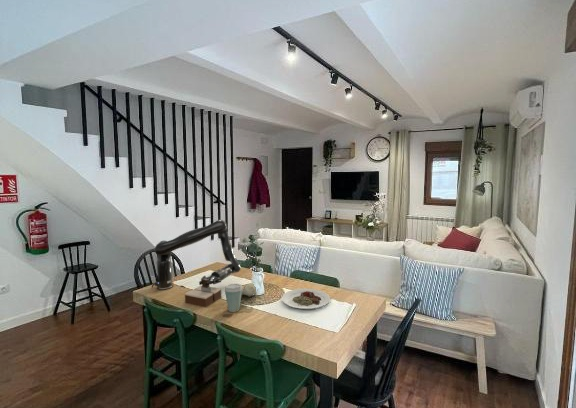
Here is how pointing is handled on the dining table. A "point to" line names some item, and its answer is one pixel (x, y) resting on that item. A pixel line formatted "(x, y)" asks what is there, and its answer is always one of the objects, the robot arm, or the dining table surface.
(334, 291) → the dining table surface
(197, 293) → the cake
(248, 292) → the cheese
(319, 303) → the plated food
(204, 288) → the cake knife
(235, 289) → the disposable coffee cup
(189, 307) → the dining table surface
